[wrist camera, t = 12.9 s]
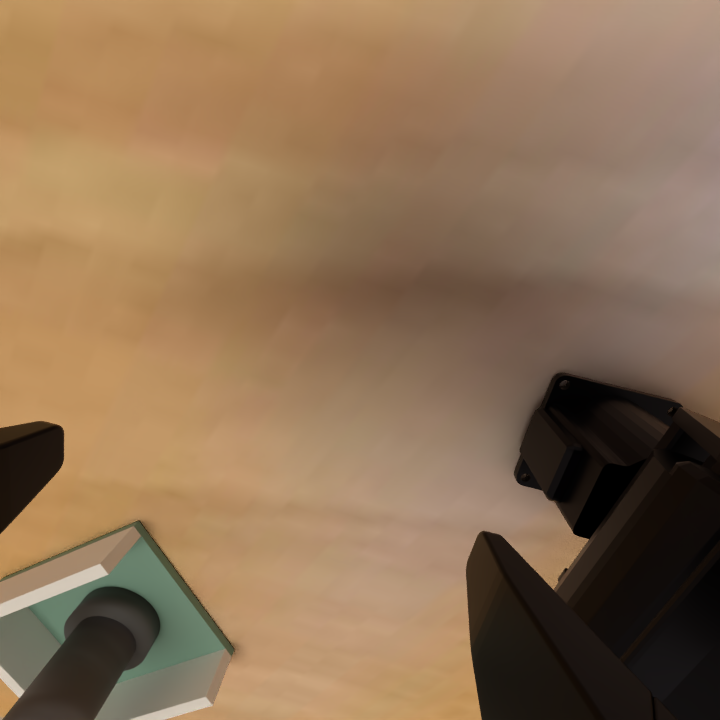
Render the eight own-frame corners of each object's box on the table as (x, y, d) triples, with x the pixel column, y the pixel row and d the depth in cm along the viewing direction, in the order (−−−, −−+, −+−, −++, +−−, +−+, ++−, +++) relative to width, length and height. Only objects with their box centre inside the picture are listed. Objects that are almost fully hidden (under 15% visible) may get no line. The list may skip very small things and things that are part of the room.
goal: (138, 520, 25) (100, 563, 22) (234, 649, 28) (212, 705, 25) (2, 578, 28) (-51, 624, 24) (102, 691, 30) (66, 748, 27)
